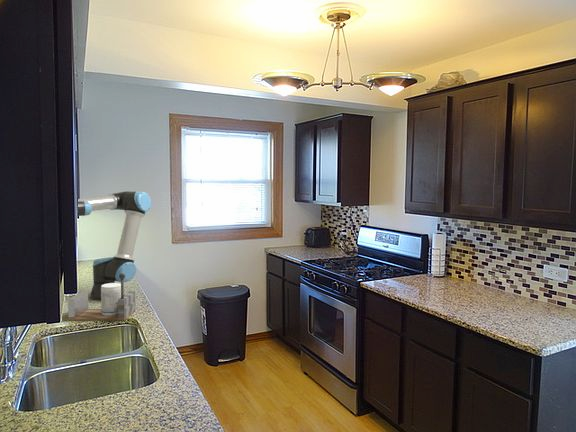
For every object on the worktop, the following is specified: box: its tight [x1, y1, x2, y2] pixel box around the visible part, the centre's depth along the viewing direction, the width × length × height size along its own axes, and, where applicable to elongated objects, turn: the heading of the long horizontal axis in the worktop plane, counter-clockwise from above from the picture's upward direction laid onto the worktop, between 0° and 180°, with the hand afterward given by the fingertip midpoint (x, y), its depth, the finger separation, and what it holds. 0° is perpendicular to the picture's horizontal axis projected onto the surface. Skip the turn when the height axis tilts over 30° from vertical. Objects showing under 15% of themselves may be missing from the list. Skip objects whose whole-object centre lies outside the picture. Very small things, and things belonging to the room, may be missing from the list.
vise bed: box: [65, 273, 136, 322], centre depth 207 cm, size 16×28×23 cm, turn 92°
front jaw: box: [67, 291, 89, 318], centre depth 207 cm, size 15×3×9 cm, turn 2°
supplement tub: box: [100, 282, 121, 316], centre depth 207 cm, size 10×10×15 cm
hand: (62, 275), depth 206 cm, fingers open, 3 cm apart
